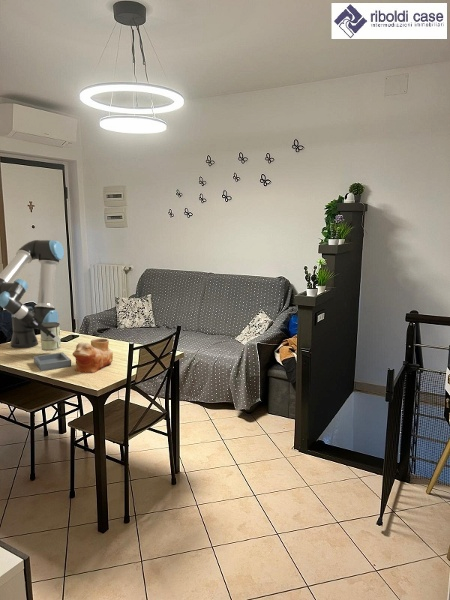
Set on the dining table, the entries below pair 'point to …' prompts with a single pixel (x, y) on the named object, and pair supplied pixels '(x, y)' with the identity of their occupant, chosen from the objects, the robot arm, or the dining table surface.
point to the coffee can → (48, 342)
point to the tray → (52, 361)
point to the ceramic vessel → (92, 356)
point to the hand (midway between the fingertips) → (56, 338)
